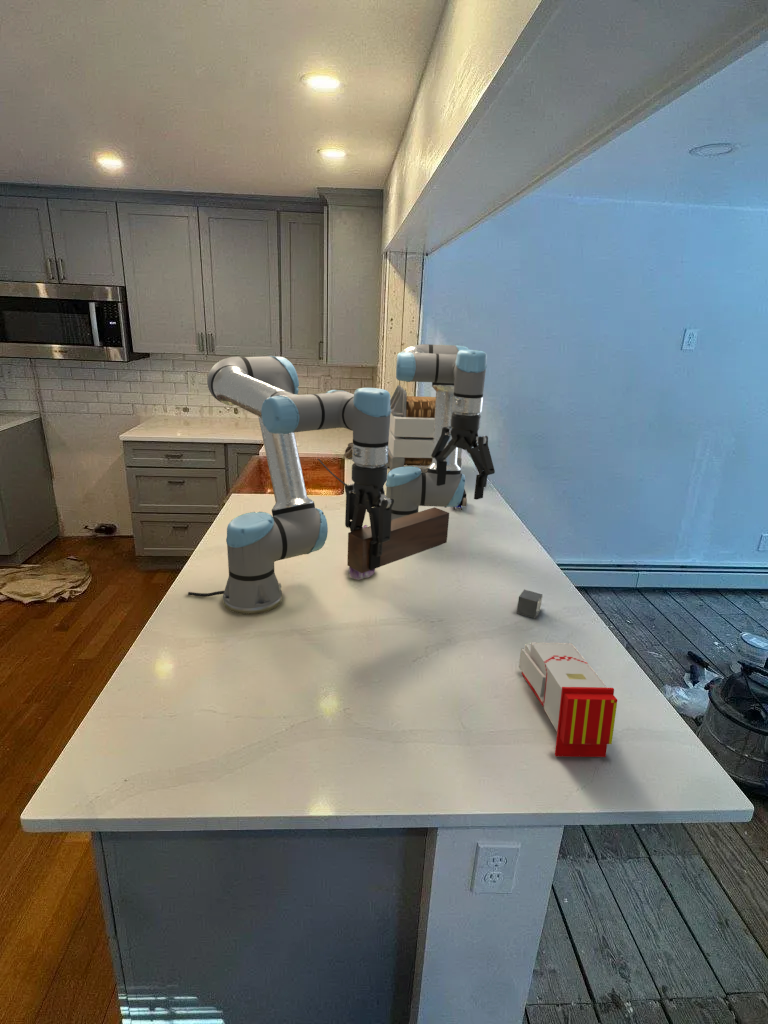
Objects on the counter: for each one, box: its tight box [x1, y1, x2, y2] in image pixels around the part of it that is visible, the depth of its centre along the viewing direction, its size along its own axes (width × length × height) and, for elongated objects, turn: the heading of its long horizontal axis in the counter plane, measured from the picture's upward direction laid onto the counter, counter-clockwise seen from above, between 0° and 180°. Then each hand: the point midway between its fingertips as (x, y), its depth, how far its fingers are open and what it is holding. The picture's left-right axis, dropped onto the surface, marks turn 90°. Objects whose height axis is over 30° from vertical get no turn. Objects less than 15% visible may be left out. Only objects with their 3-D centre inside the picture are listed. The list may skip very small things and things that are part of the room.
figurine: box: [347, 524, 376, 580], centre depth 166 cm, size 9×10×15 cm
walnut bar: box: [347, 506, 450, 573], centre depth 133 cm, size 5×28×8 cm, turn 133°
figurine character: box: [452, 488, 468, 511], centre depth 230 cm, size 7×8×15 cm
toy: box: [518, 642, 618, 758], centre depth 113 cm, size 12×13×30 cm
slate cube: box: [516, 588, 543, 619], centre depth 151 cm, size 5×5×5 cm
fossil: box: [344, 442, 353, 459], centre depth 303 cm, size 22×10×15 cm
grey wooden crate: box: [386, 384, 463, 472], centre depth 268 cm, size 34×33×41 cm
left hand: (365, 563), depth 128 cm, fingers closed on walnut bar, 5 cm apart
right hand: (459, 491), depth 153 cm, fingers open, 13 cm apart
